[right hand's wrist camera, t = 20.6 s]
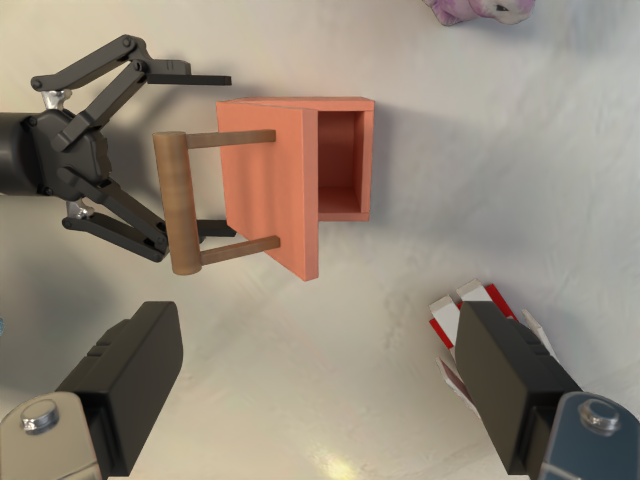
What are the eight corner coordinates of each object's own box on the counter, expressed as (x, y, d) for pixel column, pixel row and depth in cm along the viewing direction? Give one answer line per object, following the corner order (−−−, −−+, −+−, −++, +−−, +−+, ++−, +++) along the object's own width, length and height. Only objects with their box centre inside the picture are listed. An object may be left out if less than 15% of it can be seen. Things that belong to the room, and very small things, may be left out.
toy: (521, 287, 39) (656, 501, 44) (480, 249, 52) (588, 417, 57) (414, 347, 42) (552, 542, 47) (400, 296, 55) (509, 454, 59)
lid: (318, 108, 22) (166, 114, 18) (318, 277, 25) (193, 315, 21) (228, 101, 32) (118, 103, 28) (238, 222, 35) (142, 241, 31)
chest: (361, 96, 42) (374, 100, 32) (358, 191, 46) (369, 221, 36) (246, 97, 42) (223, 101, 32) (252, 192, 46) (233, 221, 36)
